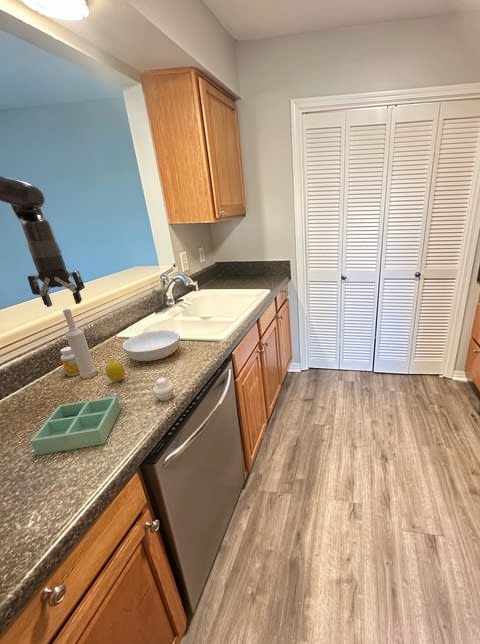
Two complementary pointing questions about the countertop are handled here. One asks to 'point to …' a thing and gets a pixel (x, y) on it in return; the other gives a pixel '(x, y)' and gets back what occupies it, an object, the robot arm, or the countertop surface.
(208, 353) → the countertop surface
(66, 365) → the supplement bottle
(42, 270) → the robot arm
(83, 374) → the bottle
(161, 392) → the muffin
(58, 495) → the countertop surface
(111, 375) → the lemon
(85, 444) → the compartment tray
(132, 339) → the serving bowl
